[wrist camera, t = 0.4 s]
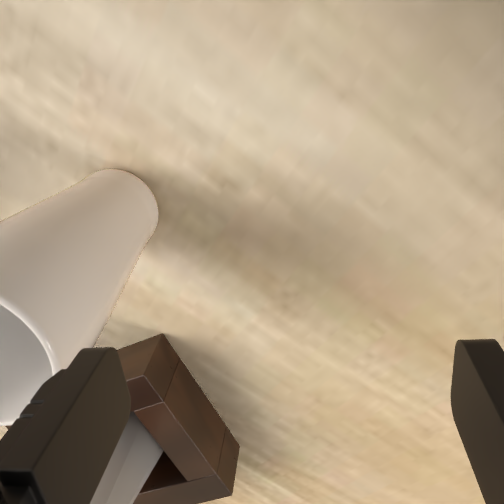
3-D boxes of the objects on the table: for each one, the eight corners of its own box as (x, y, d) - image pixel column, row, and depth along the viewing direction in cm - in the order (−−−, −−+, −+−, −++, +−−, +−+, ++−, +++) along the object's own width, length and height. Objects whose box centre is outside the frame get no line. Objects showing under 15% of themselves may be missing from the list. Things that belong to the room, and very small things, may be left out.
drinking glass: (194, 210, 29) (99, 372, 16) (128, 271, 32) (-2, 454, 18) (112, 130, 27) (-73, 236, 14) (49, 202, 30) (-158, 348, 16)
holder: (34, 380, 37) (1, 423, 33) (162, 332, 34) (143, 374, 30) (119, 478, 42) (99, 527, 38) (240, 446, 38) (232, 495, 34)
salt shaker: (153, 448, 39) (90, 625, 28) (93, 417, 38) (2, 588, 27) (185, 409, 37) (131, 586, 25) (122, 375, 36) (36, 543, 24)
